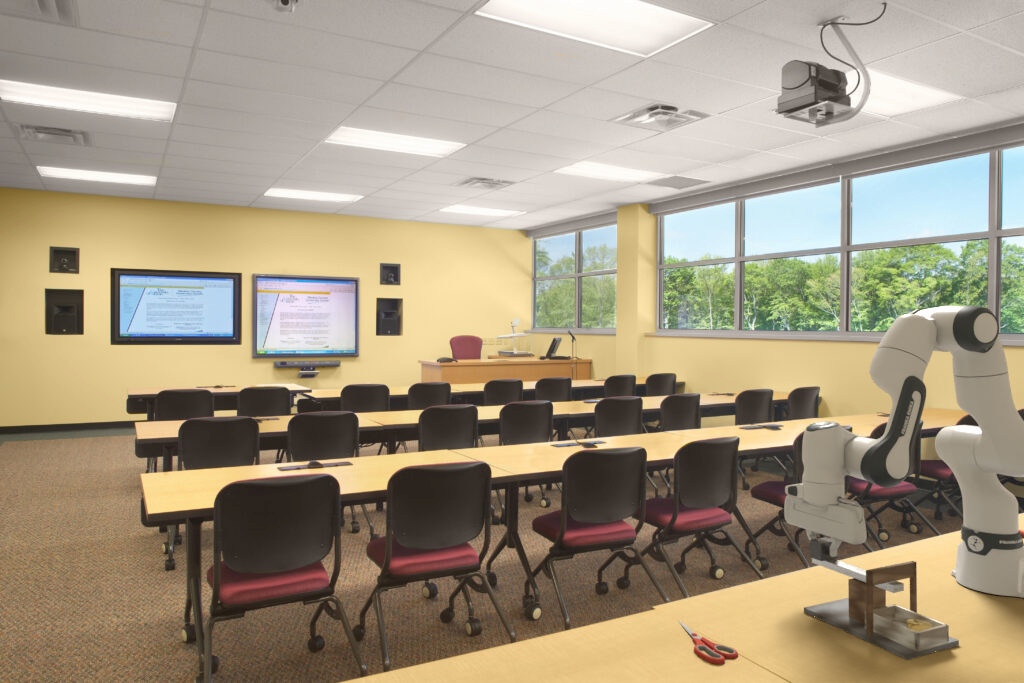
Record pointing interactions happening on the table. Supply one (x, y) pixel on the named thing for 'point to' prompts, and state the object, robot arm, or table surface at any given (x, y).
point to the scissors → (710, 648)
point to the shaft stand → (884, 615)
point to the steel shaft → (844, 565)
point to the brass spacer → (918, 624)
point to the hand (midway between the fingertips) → (823, 552)
